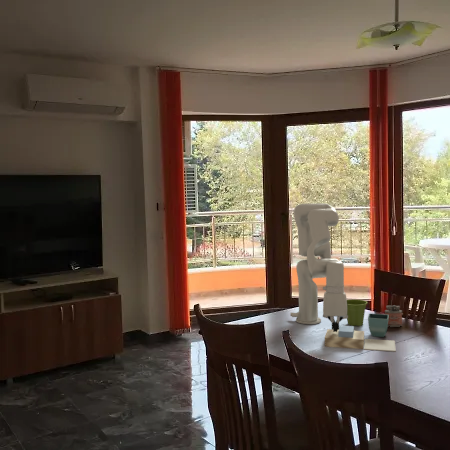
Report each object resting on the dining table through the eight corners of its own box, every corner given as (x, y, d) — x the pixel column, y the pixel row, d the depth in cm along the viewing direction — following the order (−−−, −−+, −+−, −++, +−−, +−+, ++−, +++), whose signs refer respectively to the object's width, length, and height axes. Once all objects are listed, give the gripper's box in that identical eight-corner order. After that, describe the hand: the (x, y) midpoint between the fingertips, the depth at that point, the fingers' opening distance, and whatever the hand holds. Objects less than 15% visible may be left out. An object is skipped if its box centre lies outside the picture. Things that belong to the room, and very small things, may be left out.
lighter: (401, 324, 248) (401, 304, 248) (402, 326, 245) (402, 306, 244) (384, 324, 249) (384, 304, 248) (385, 326, 246) (385, 306, 245)
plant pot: (345, 320, 259) (345, 298, 258) (369, 322, 254) (369, 300, 253) (340, 326, 249) (340, 303, 248) (365, 328, 243) (364, 305, 243)
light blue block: (338, 336, 218) (338, 331, 217) (340, 331, 226) (340, 325, 226) (353, 337, 216) (353, 332, 216) (354, 331, 224) (354, 326, 224)
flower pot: (388, 333, 235) (388, 314, 234) (388, 339, 226) (388, 319, 226) (369, 332, 237) (368, 313, 237) (367, 337, 229) (367, 317, 228)
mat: (364, 349, 212) (364, 348, 212) (364, 339, 226) (364, 338, 226) (395, 351, 209) (395, 350, 209) (394, 341, 222) (394, 340, 222)
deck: (324, 346, 218) (324, 337, 217) (327, 337, 230) (327, 329, 230) (363, 349, 213) (363, 339, 213) (364, 340, 225) (364, 331, 225)
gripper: (316, 290, 220) (317, 332, 221) (352, 291, 215) (352, 334, 216) (318, 287, 227) (319, 327, 228) (353, 288, 222) (353, 329, 224)
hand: (335, 331), depth 222 cm, fingers closed
